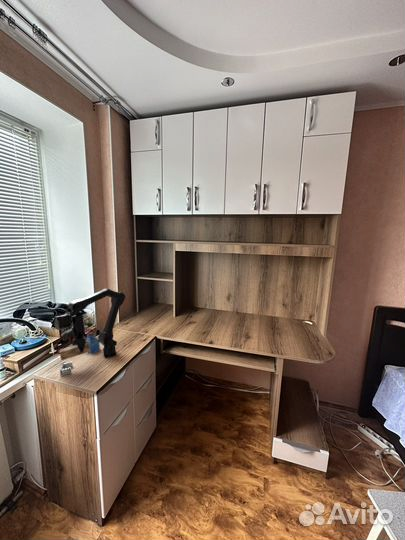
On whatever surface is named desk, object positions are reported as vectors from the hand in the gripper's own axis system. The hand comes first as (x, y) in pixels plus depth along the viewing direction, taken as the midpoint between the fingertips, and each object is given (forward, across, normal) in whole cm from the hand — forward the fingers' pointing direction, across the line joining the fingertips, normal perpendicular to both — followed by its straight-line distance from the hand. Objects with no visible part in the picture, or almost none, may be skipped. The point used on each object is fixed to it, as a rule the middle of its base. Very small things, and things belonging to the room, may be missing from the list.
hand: (82, 350), depth 125 cm
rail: (+1, 0, -3) cm, 3 cm away
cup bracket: (+10, 0, -8) cm, 12 cm away
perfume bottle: (+10, -19, +4) cm, 22 cm away
